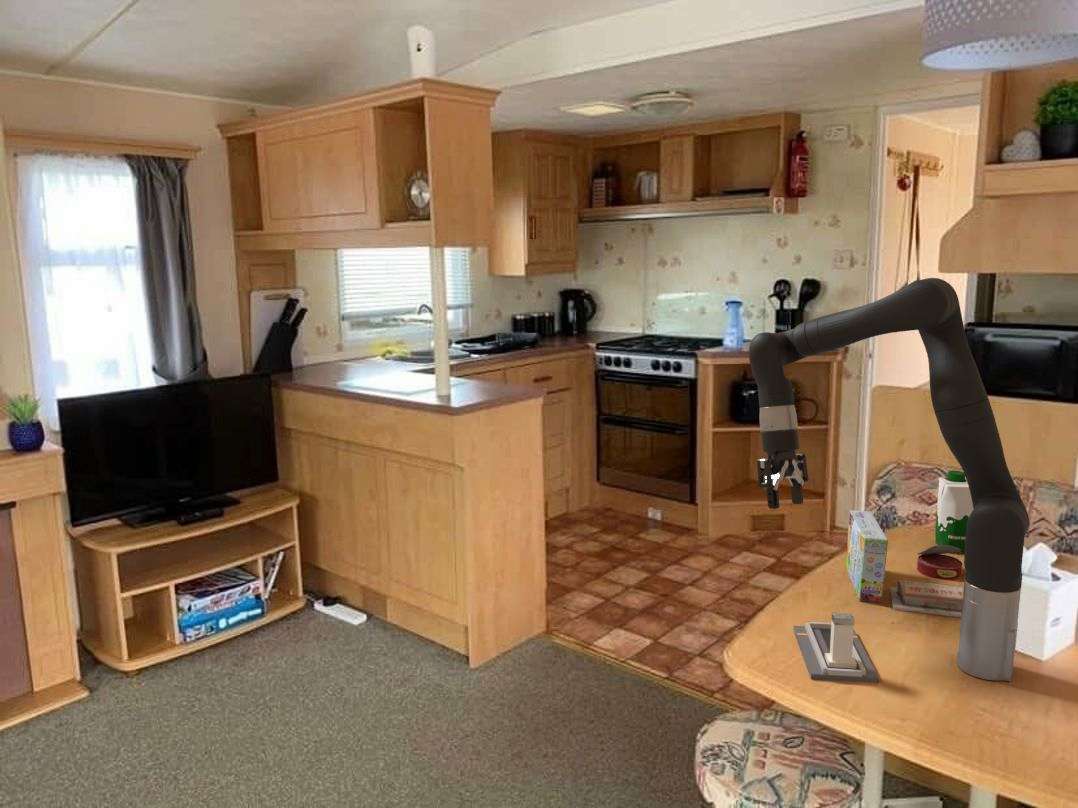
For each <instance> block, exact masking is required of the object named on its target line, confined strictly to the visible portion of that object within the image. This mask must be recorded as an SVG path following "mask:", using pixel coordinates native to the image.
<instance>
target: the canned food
mask: <svg viewBox="0 0 1078 808" xmlns="http://www.w3.org/2000/svg"><path fill="white" fill-rule="evenodd" d="M960 551H961V550H960V549H959V548H957V547H953V546H950V545H941V546H938V545H933V546H931V547H928V548H927V549H925V550H922V551H921V552H918V553H917V555H919V556H917V565H916V571H917V572H918V573H920V574H921V575H923V576H925V577H929V578H932V579H937V580H943V581H944V580H945V581H946V580H948V581H950V580H951V581H952V580H958V579H960V578H961V577H962V571H963V561H961V560H960V559H958V558H957V557H954V556H950V555H947V554H954V553H956V554H958V553H957V552H960ZM959 577H960V578H959ZM957 578H958V579H957Z"/></svg>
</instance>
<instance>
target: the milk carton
mask: <svg viewBox="0 0 1078 808" xmlns="http://www.w3.org/2000/svg"><path fill="white" fill-rule="evenodd" d="M937 493H938V494H937V502H936V503H937V505H936V506H937V507H936V517H935V518H936V519H935V534H934V535H935V537H934V538H935V539H934V540H935V544H936V546H941V545H950V546H953V547H957V548H959V549H960V550H961V551H960V552H957V553H956V554H965V539H966V528H967V522H968V518H969V516H970V514H971V513H972V511H973V503H972V498H971V494H970V490H969V486H968V482H967V479H966V476H965V474H964V471H963V470H962V471H961V470H949V471H948V472H947V477H938V491H937Z"/></svg>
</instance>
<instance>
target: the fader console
mask: <svg viewBox="0 0 1078 808" xmlns="http://www.w3.org/2000/svg"><path fill="white" fill-rule="evenodd" d="M804 623H805V624H804V625H793V630H794V631H793V630H792V631H793V633H794V636H795V638H796V641H798V642H797V644H798V647H799V650H800V652H801V655H802V658H803V661H804V663H805V666H806V669H807V672H808V675H809V677H810V680H823V681H838V682H839V681H843V682H861V683H875V684H876V683H877V684H879V683H880V682H879V681H880V677H879V675H878V673H877V671H876V669H875V667H874V665H873V663H872V662H871V660H870V657H869V656H868V654H867V652H866V650H865V648H864V646H863V643H862V642H861V639H860V637H858V635H857V633H856V630H855V629H854V634H853V650H852V655H853V657H854V659H855V661H856V663H857V667H856V669H854V668H835V667H828V665H827V662H826V660H825V653H830V640H831V622H820V621H819V622H818V621H816V622H815V621H808V622H804Z"/></svg>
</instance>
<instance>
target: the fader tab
mask: <svg viewBox="0 0 1078 808" xmlns="http://www.w3.org/2000/svg"><path fill="white" fill-rule="evenodd" d="M830 623H831V640H830V653H825V660H826V662H827V665H828V667H835V668H854V669H856V667H857V663H856V661H855V659H854V657H853V655H852V650H853V634H854V630H855V618H854V615H853V613H852V612H831V622H830Z"/></svg>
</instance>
